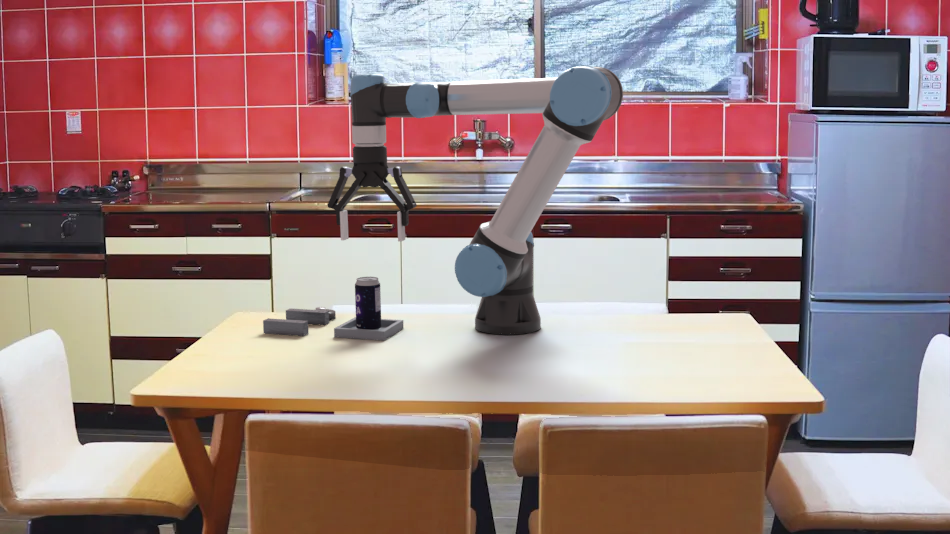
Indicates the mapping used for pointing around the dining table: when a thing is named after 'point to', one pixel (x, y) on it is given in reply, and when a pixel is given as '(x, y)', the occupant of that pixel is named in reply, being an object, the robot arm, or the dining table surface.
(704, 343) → the dining table surface
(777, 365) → the dining table surface
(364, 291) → the beverage can
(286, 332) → the rails
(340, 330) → the tray
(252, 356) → the dining table surface
